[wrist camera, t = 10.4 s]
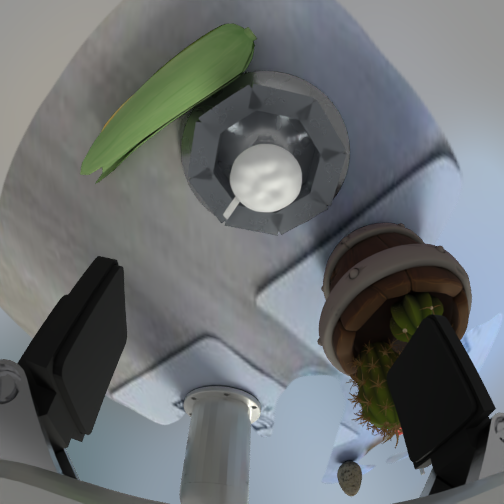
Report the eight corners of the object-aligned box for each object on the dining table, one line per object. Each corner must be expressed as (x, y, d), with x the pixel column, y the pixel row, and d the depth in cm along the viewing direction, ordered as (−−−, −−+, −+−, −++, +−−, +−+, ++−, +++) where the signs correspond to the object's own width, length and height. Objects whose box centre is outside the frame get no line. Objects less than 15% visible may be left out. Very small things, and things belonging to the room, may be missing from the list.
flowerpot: (393, 171, 28) (527, 301, 11) (444, 271, 33) (525, 400, 16) (277, 254, 33) (290, 436, 15) (349, 333, 38) (384, 477, 21)
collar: (321, 241, 32) (328, 260, 28) (174, 212, 31) (164, 229, 27) (365, 96, 24) (380, 99, 21) (198, 58, 23) (188, 55, 20)
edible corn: (275, 63, 20) (240, 15, 17) (90, 202, 26) (55, 172, 23) (265, 52, 23) (236, 13, 21) (104, 173, 30) (74, 146, 27)
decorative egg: (331, 465, 63) (334, 499, 54) (347, 456, 60) (352, 492, 52) (348, 466, 64) (352, 499, 56) (364, 458, 62) (369, 492, 53)
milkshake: (220, 151, 27) (200, 188, 18) (270, 116, 25) (276, 135, 16) (250, 190, 28) (246, 244, 20) (300, 158, 27) (320, 198, 18)
